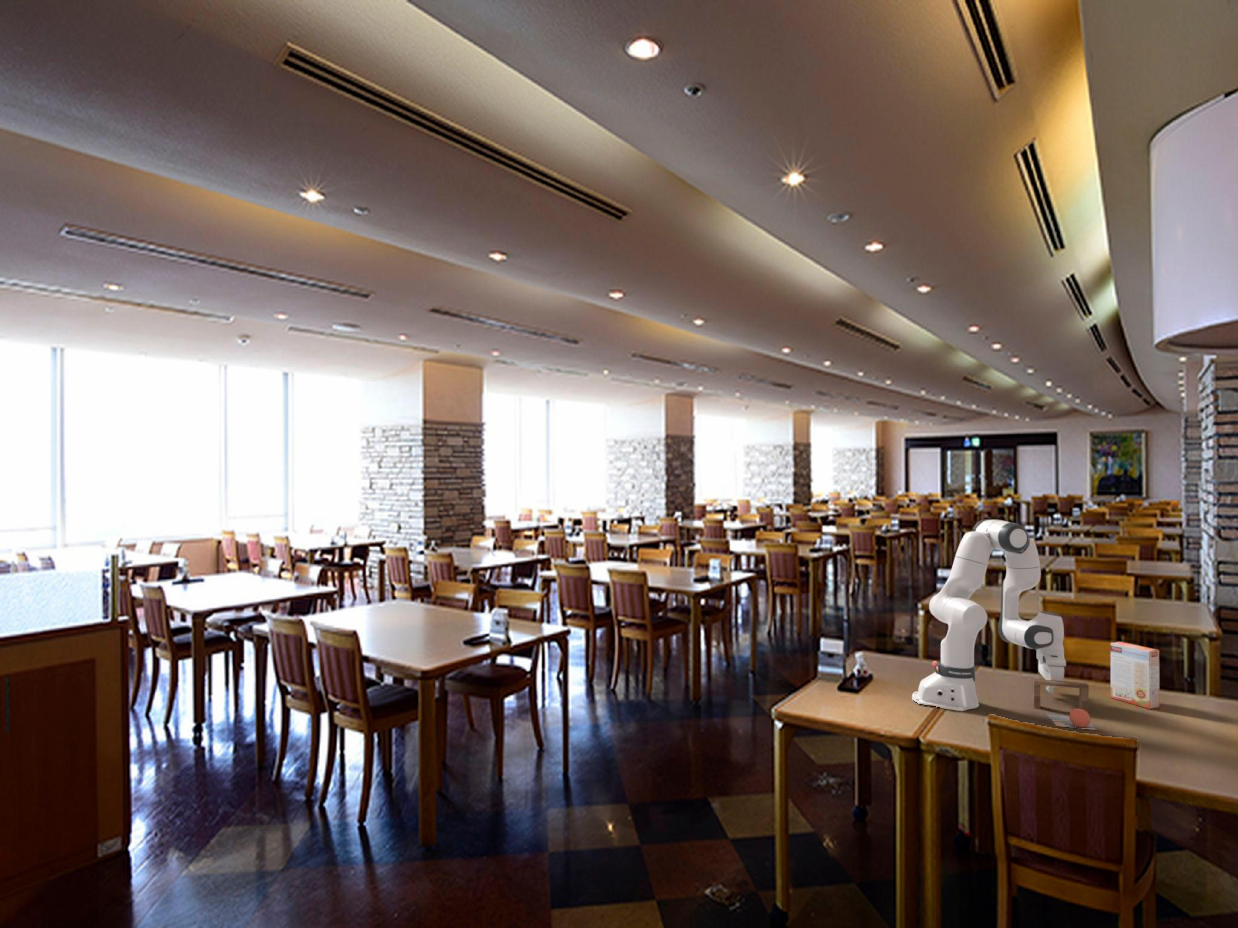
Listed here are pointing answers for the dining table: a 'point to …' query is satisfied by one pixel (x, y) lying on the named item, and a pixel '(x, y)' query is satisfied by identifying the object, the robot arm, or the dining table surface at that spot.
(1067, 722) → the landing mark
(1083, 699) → the grey rectangular frame
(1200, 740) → the dining table surface
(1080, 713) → the ball
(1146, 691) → the cracker box
